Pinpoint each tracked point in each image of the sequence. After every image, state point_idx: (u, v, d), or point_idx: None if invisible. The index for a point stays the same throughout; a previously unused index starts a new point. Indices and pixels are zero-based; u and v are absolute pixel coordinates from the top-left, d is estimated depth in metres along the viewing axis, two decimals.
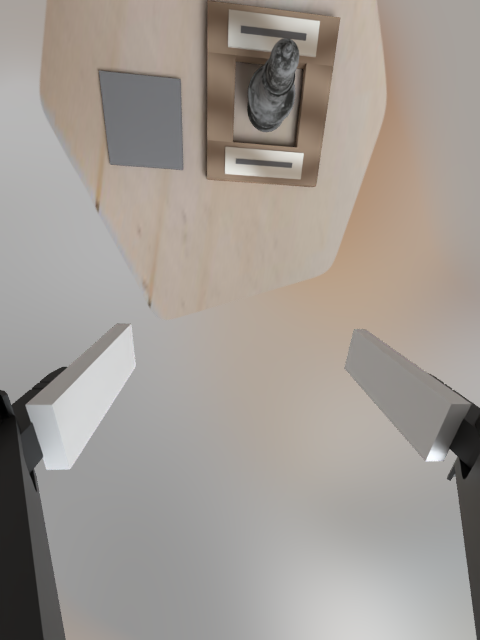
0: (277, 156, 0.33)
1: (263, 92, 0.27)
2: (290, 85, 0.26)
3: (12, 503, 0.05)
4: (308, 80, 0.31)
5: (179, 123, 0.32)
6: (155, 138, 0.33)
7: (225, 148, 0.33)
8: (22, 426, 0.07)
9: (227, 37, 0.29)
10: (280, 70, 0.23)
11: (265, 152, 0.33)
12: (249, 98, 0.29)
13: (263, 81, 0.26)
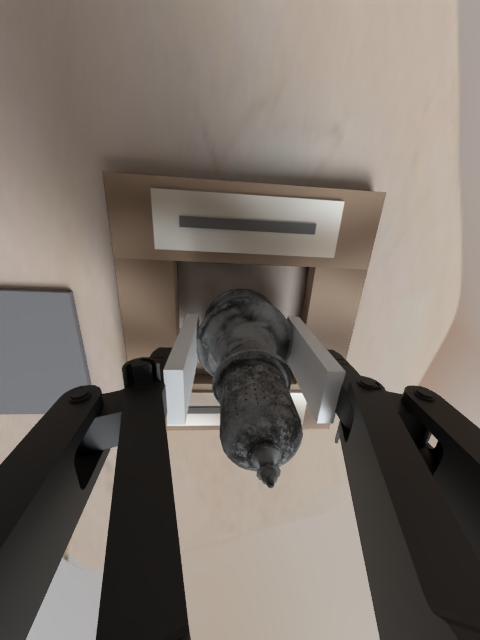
0: None
1: None
2: None
3: (160, 448, 0.06)
4: (318, 292, 0.16)
5: (77, 355, 0.17)
6: (36, 377, 0.18)
7: None
8: None
9: (152, 234, 0.14)
10: (248, 469, 0.08)
11: None
12: (199, 354, 0.14)
13: (216, 396, 0.11)
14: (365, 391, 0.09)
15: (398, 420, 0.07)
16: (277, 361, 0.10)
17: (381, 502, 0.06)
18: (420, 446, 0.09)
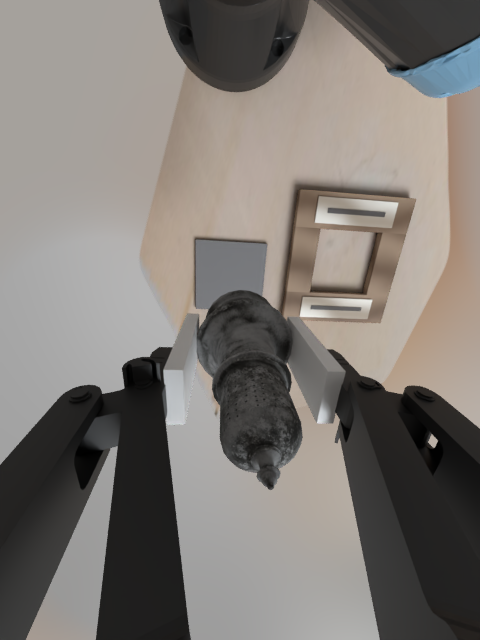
0: (348, 302, 0.36)
1: None
2: None
3: (160, 448, 0.06)
4: (382, 245, 0.34)
5: (262, 276, 0.35)
6: (239, 288, 0.36)
7: (302, 297, 0.36)
8: None
9: (314, 216, 0.32)
10: (248, 470, 0.08)
11: (338, 299, 0.36)
12: (199, 355, 0.14)
13: (216, 397, 0.11)
14: (365, 391, 0.09)
15: (398, 420, 0.07)
16: (277, 363, 0.10)
17: (381, 503, 0.06)
18: (420, 446, 0.09)
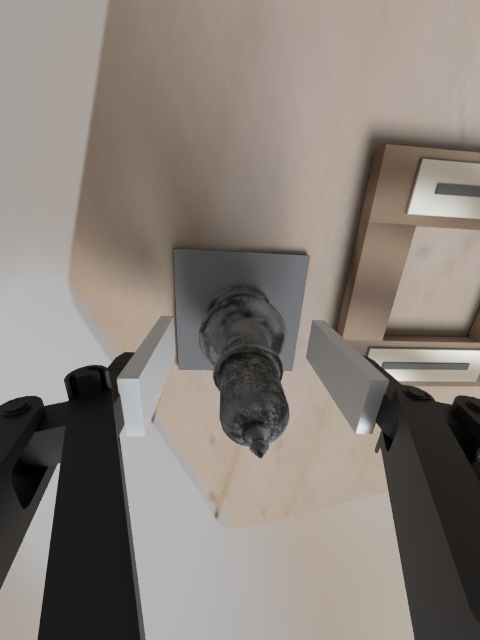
0: (447, 356, 0.21)
1: None
2: None
3: (110, 462, 0.06)
4: None
5: (297, 314, 0.19)
6: None
7: (367, 349, 0.20)
8: (113, 396, 0.09)
9: (408, 200, 0.16)
10: (244, 445, 0.10)
11: (431, 352, 0.20)
12: (201, 346, 0.16)
13: (217, 384, 0.12)
14: (412, 401, 0.08)
15: (449, 434, 0.07)
16: (270, 355, 0.12)
17: (425, 513, 0.05)
18: (470, 460, 0.08)
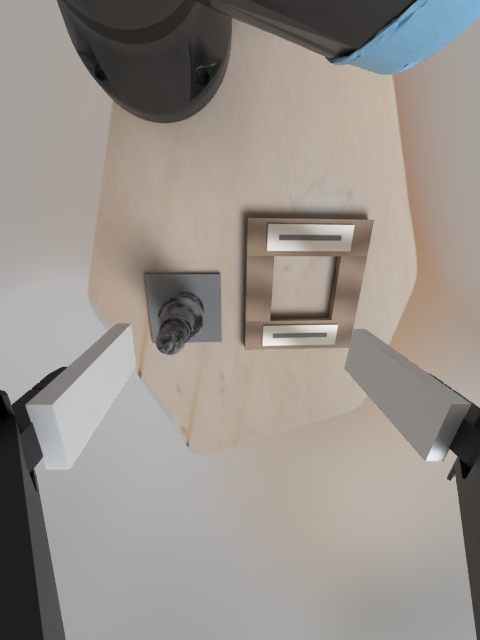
0: (312, 329, 0.35)
1: None
2: (188, 337, 0.27)
3: (12, 503, 0.05)
4: (342, 269, 0.32)
5: (219, 307, 0.34)
6: None
7: (262, 326, 0.34)
8: (22, 426, 0.07)
9: (266, 244, 0.30)
10: None
11: (301, 326, 0.34)
12: (159, 323, 0.30)
13: None
14: None
15: None
16: (183, 320, 0.26)
17: None
18: None
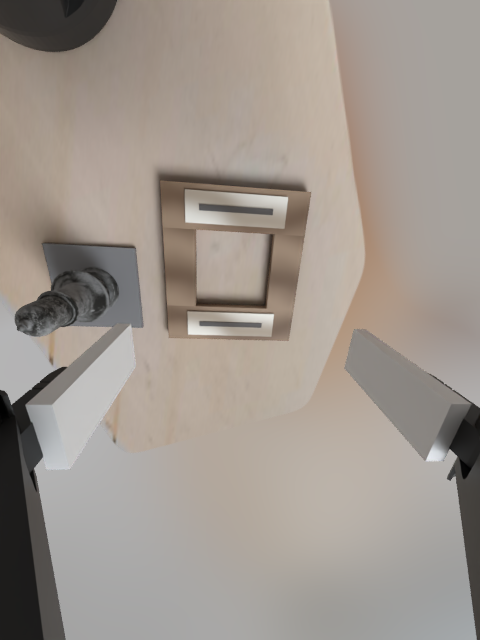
0: (244, 317, 0.31)
1: None
2: (73, 318, 0.22)
3: (12, 503, 0.05)
4: (277, 249, 0.28)
5: (136, 287, 0.29)
6: None
7: (187, 312, 0.30)
8: (22, 426, 0.07)
9: (184, 214, 0.26)
10: (30, 335, 0.19)
11: (231, 314, 0.30)
12: None
13: None
14: None
15: None
16: (65, 297, 0.22)
17: None
18: None
